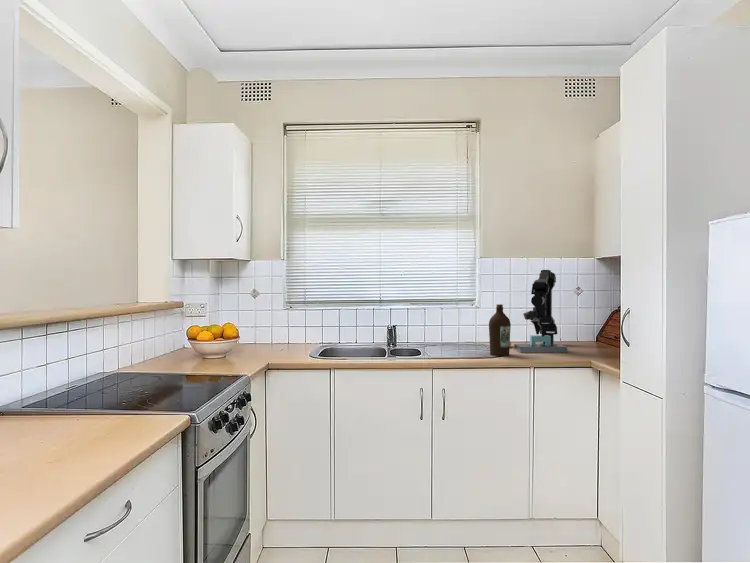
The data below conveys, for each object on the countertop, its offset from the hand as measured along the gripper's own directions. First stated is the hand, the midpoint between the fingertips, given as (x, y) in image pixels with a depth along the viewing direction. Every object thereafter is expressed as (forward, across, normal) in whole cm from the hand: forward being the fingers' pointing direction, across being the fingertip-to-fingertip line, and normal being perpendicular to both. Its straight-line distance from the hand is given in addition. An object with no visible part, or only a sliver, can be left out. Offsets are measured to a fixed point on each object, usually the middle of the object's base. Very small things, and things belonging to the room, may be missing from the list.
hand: (540, 335), depth 294 cm
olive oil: (+8, +12, -24) cm, 28 cm away
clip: (+8, 0, 0) cm, 8 cm away
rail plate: (+8, 0, 0) cm, 8 cm away
